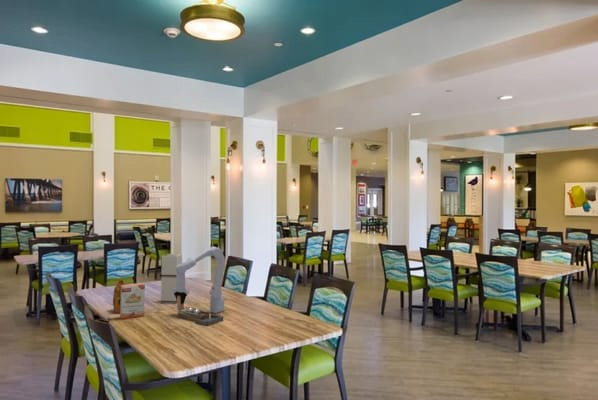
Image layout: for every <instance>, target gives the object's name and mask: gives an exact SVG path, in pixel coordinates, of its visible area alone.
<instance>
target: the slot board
mask: <svg viewBox="0 0 598 400" xmlns="http://www.w3.org/2000/svg"><path fill="white" fill-rule="evenodd" d="M188 308H189V307H187V308H186V310H187V309H188ZM196 309H197V308H195V310H196ZM186 310H177V319H182V320H187V321H191V322H194V323H195V319H200V320H204V319H207V318H210V312H209V311H208V310H203V309H201V313H200V314H196V313H191V312H187V311H186Z"/></svg>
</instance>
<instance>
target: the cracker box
mask: <svg viewBox="0 0 598 400" xmlns="http://www.w3.org/2000/svg"><path fill="white" fill-rule="evenodd" d="M145 288H146V286H145V284H144V283H134V284H133V283H132V284H125V285H121V305H120V313H119V316H120V319H121V320H123V319H133V318H141V317H145V296H146V295H145Z"/></svg>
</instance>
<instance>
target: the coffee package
mask: <svg viewBox="0 0 598 400" xmlns="http://www.w3.org/2000/svg"><path fill="white" fill-rule="evenodd" d="M117 281H118V282H117V284H115V287H114V289H113V297H112V306H113V310H114V312H115V313H117V314H120V305H121V285H126V284H125V282H124V278H122V277H119V278H117Z"/></svg>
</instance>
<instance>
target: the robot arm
mask: <svg viewBox="0 0 598 400" xmlns="http://www.w3.org/2000/svg"><path fill="white" fill-rule="evenodd" d="M207 257H213V258H214V259H215V260H216V268H215V272H214V279H213V283H212V285H211V289H210V290H209V295H210V298H209V300H210V301H209V302H210V303H209V310H207V311H209V313H211V314H212V313H213V314H217V313H221V312H224V311H226V309H225V299H224V298H223V297H222V295H223V292H222V281H223V280H222V279H223V274H224V269H225V264H226V257H225V256H224V253H223V250H222V249H221V248H220V247H216V246H210V247H209V248H207V249H206V250H204V251H203V252H201V253H199V254H198V255H196V256H195V257H190V258H189V257H188V258H187V260H185V261H182V263H181V264H179V265H178V266H177V267H176V272H177V274H176V275H177V276H176V288H172V291H175V293H174V295H175V297H176V300H177V296H179V295H180V300H181V304H185V302H186V301H185V300H186V297H187V296H188V295H189V294H190V290H188V289H186V272H187V271H188V270H190V269H192V268H193V267H194V266H197V262H200V261H201V260H203V259H206V258H207Z"/></svg>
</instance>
